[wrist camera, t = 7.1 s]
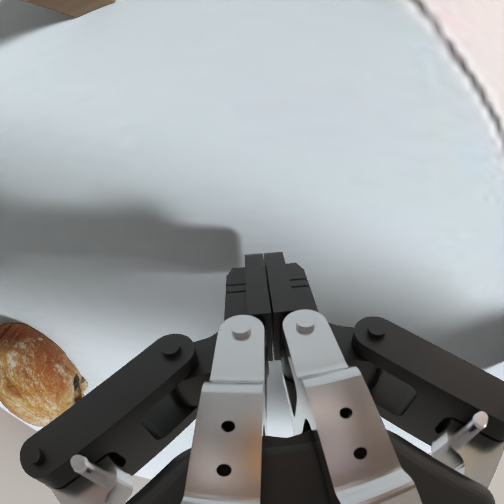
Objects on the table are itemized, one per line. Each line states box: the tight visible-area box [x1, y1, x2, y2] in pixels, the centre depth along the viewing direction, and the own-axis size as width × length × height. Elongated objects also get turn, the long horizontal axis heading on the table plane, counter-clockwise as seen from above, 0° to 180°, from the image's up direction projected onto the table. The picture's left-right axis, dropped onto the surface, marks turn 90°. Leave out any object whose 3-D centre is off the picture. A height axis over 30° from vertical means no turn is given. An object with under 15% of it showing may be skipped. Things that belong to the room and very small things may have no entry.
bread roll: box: [0, 323, 88, 427], centre depth 15 cm, size 10×10×8 cm
